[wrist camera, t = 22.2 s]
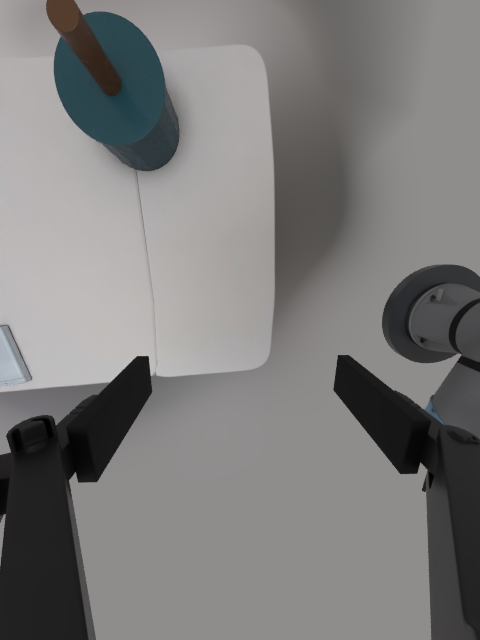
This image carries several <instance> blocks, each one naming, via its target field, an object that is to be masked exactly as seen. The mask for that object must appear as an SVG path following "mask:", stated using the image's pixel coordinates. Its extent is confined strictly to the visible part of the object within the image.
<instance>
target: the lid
mask: <svg viewBox="0 0 480 640" xmlns="http://www.w3.org/2000/svg"><path fill="white" fill-rule="evenodd" d="M46 10H47V15H48V18H49V20H50V21H51V23H52V24H53V26H54V27H55V29H56V30H57V31H58V33H59V34H60V35H61V37H60V39H59V42H58V45H57V48H56V52H55V58H54V76H55V83H56V87H57V91H58V94H59V97H60V100H61V102H62V104H63V106H64V108H65V110H66V111H67V113H68V115H69V116H70V117H71V119H72V120H73V121H74V123H75V124H76V125H77V126H78V127H79V128H80V129H81V130H82V131H83V132H85V133H86V134H87V135H88V136H90V137H91V138H93V139H94V140H96V141H98V142H100V143H103V144H105V145H109V146H115V147H126V146H131V145H134V144H137V143H139V142H141V141H143V140H144V139H145V138H147V137H148V136H149V135H150V134H151V133H152V132H153V131H154V129H155V128H156V126H157V125H158V123H159V121H160V119H161V116H162V114H163V110H164V106H165V98H166V85H165V78H164V73H163V69H162V66H161V63H160V60H159V58H158V56H157V53H156V51H155V49H154V48H153V46H152V45H151V43H150V41H149V40H148V38H146V36H145V35H144V34H143V32H142V31H141V30H140V29H139V28H138V27H136V26H135V25H134V24H133V23H131V22H130V21H128V20H127V19H125V18H123V17H121V16H119V15H116V14H113V13H109V12H92V13H87V14H85V15H83V14H82V13H81V11H80V9H79V8H78V6H77V4H76V3H75V1H74V0H47V4H46Z"/></svg>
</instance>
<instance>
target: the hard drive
mask: <svg viewBox="0 0 480 640" xmlns="http://www.w3.org/2000/svg"><path fill="white" fill-rule="evenodd" d="M30 380H32V379H31V377H30V375H29V373H28V370H27V368H26V366H25V364H24V361H23V359H22V357H21V355H20V353H19V350H18V348H17V346H16V344H15V341H14V339H13V337H12V335H11V333H10V330H9V328H8V326H7V325H4V326H0V387H2V386H8V385H14V384H20V383H25V382H28V381H30Z"/></svg>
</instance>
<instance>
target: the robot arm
mask: <svg viewBox="0 0 480 640" xmlns="http://www.w3.org/2000/svg"><path fill="white" fill-rule="evenodd" d="M405 328H406V332H407V334H408V336H409V338H410V339H411V340H412V342H414V343H415V344H416V345H418V346H420V347H423V348H425V349H427V350H432V351H440V352H450V353H460V354H462V356H461V357H460V358H459V360H458V361H457V363H456V364H455V365H454V367H453V368H452V370H451V371H450V373H449V374H448V376H447V377H446V378H445V380H444V381H443V383H442V384H441V386H440V387H439V389H438V390H437V391H436V393H435V394H434V395H432V396H431V397H430V401H429V403H428V405H427V407H426V408H425V410H424V409H421V407H420V406H419V405H417V404H416V403H414V401H412V400H411V399H410V398H408V397H407V396H405V395H403V394H401V393H399V392H397V391H393V390H392V389H391V388H389V387H388V386H387V385H386V384H384V383H383V382H382V381H381V380H379V379H378V378H377V377H375V376H374V375H373V374H372V373H370V372H369V371H368V370H367V369H366V368H364V367H363V366H362V365H360V364H359V363H358V362H357V361H355V360H354V359H353V358H352V357H350V356H349V355H338V360H337V367H336V375H335V382H334V391H335V392H336V394H337V395H338V396H339V398H340V399H341V400H342V401H343V403H344V404H345V405H346V406H347V408H348V409H349V410H350V411H351V413H352V414H353V415H354V416H355V418H356V419H357V420H358V421H359V423H360V424H361V425H362V426H363V428H364V429H365V430H366V431H367V433H368V434H369V435H370V436H371V438H372V439H373V440H374V441H375V443H376V444H377V445H378V446H379V448H380V449H381V450H382V451H383V453H384V454H385V455H386V457H387V458H388V459H389V460H390V462H392V464H393V465H394V467H395V468H396V469H397V470H398V472H399V473H400V474H417V472H418V469H419V465H420V462H421V463H422V464H423V465H424V466H425V467H426V469H427V470H428V471H427V475H426V478H425V482H424V485H423V488H422V491H424V492H425V491H426V497H427V524H428V553H429V582H430V610H431V637H432V639H431V640H480V293H479V292H477V291H475V290H473V289H471V288H469V287H467V286H464V285H461V284H454V283H441V284H436V285H433V286H431V287H429V288H427V289H426V290H424V291H423V292H421V293H420V294H419V295H418V296H417V297H416V298H415V299H414V301H413V302H412V303H411V305H410V307H409V309H408V311H407V314H406V319H405ZM151 393H152V386H151V376H150V366H149V356H137V357H136V358H135V359H134V360H133V361H132V362H131V363H130V364H129V365H128V366H127V367H126V368H125V369H124V370H123V371H122V372H121V373H120V374H119V375H118V376H117V377H116V378H115V379H114V380H113V381H112V382H111V383H110V384H109V385H108V386H107V387H106V388H105V389H104V390H103V391H102V392H101V393H100V394H99V395H92V396H90V397H88V398H87V399H85V400H84V401H82V402H81V403H80V404H79V405H78V406H77V407H76V408H75V409H73V410H72V411H71V412H70V414H69V415H67V416H66V417H65V418H64V419H63V420H61V421H60V422H59V423H58V424H57V425H55V421H54V418H53V417H52V416H48V415H42V416H37V417H33V418H30V419H27V420H25V421H22V422H21V423H19V424H17V425H16V426H14V427H13V428H12V429H11V430H9V431H8V433H7V436H6V437H7V440H8V443H9V446H10V449H11V453H7V454H3V455H0V522H1V520H2V517H3V515H4V514H6V518H5V528H4V538H3V547H2V557H1V566H0V640H96V637H95V631H94V625H93V619H92V614H91V607H90V602H89V596H88V590H87V584H86V578H85V572H84V566H83V560H82V554H81V548H80V542H79V536H78V530H77V525H76V519H75V513H74V507H73V501H72V495H71V489H70V484H69V480H70V479H71V477H72V476H73V474H74V473H75V472H76V474H77V479H78V482H97V481H98V480H99V478H100V476H101V474H102V473H103V471H104V470H105V468H106V466H107V465H108V463H109V462H110V460H111V458H112V457H113V455H114V453H115V452H116V450H117V448H118V447H119V445H120V444H121V442H122V440H123V439H124V437H125V435H126V434H127V432H128V431H129V429H130V427H131V426H132V424H133V423H134V421H135V419H136V418H137V416H138V414H139V413H140V411H141V409H142V408H143V406H144V404H145V403H146V401H147V400H148V398H149V396H150V395H151Z"/></svg>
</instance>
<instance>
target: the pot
mask: <svg viewBox="0 0 480 640" xmlns="http://www.w3.org/2000/svg"><path fill="white" fill-rule="evenodd" d="M178 140H179V125H178V118H177V116H176V113H175V110H174V108H173V105H172V102H171V100H170V97H169V94H168V92H167V89H166V98H165V106H164V110H163V114H162V116H161V119H160V121H159V123H158V125H157V126H156V128H155V129H154V131H153V132H152V133H151V134H150V135H149V136H148V137H147V138H145V139H144V140H143V141H141V142H139V143H137V144H134V145H131V146H126V147H115V146H109V145H105V144H103V143H102V144H103V145H104V146H105V147H106V148H107V149H108V150H109V151H111V152H112V153H113V154H114V155H115V156H116V157H117V158H118V159H119V160H120V161H121V162H123V163H124V164H126V165H128V166H130V167H131V168H134V169H137V170H141V171H151V170H156V169H158V168H160V167H162V166H164V165H165V164H166V163H167V162H168V161H169V160H170V159H171V158H172V156H173V155H174V153H175V151H176V148H177V145H178Z"/></svg>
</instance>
